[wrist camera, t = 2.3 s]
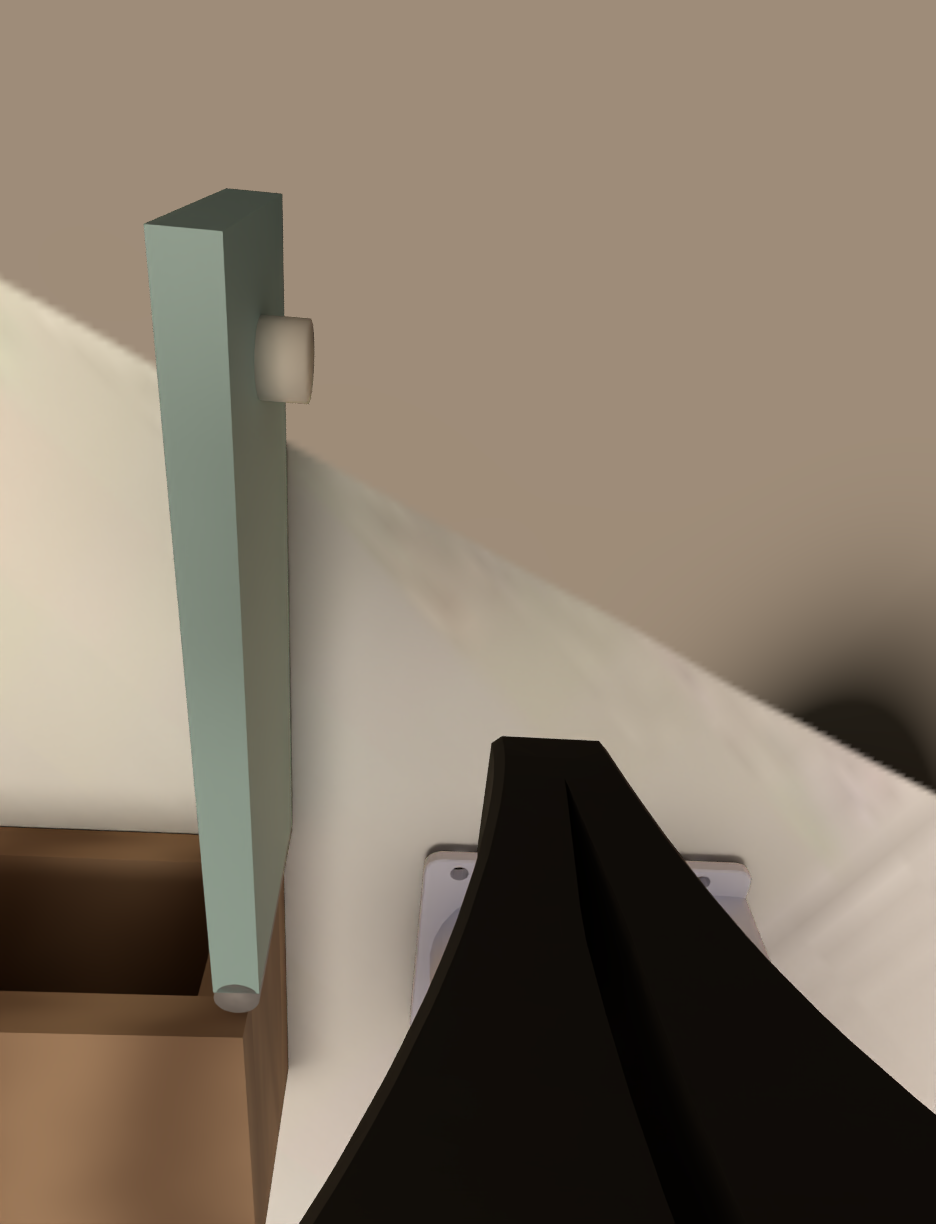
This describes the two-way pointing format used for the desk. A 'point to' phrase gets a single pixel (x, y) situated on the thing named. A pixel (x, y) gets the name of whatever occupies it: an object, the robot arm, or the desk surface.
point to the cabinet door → (231, 547)
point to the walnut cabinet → (128, 1039)
